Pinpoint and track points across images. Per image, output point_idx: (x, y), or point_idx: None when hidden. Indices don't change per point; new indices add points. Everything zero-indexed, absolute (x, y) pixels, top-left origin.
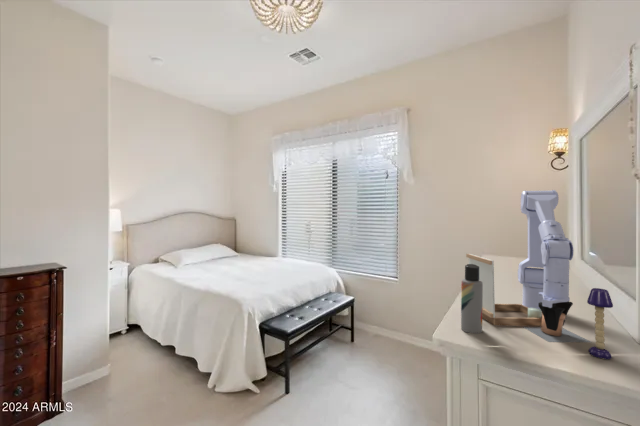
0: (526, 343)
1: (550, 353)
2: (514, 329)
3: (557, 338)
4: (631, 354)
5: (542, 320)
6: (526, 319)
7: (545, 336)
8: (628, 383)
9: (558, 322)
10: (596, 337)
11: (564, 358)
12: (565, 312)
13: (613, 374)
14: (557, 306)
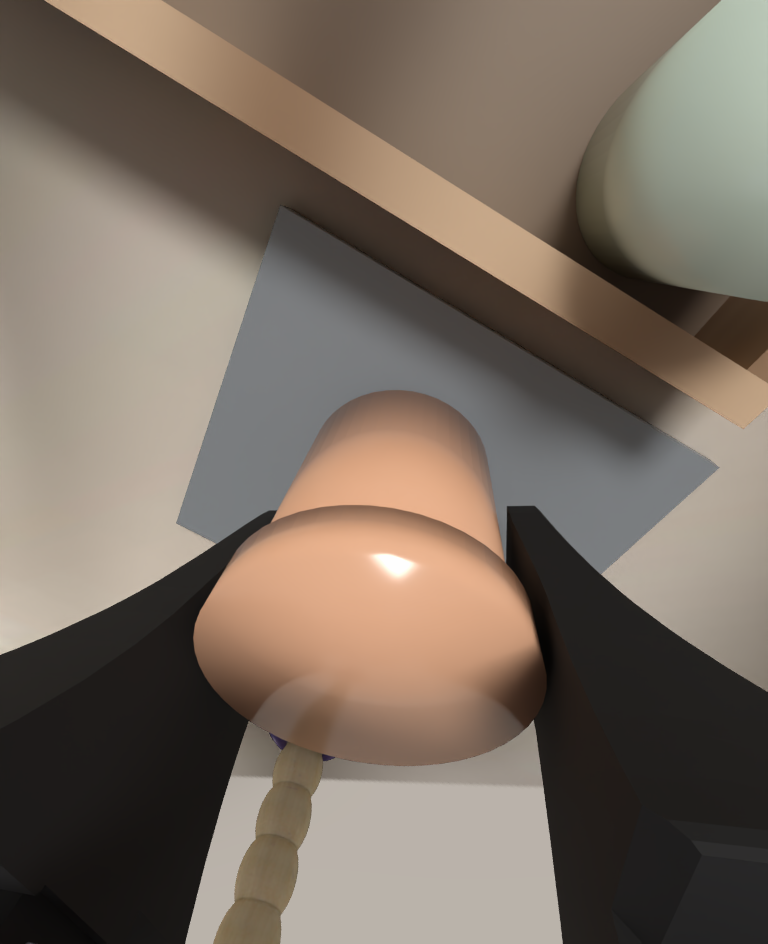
0: (7, 430)
1: (56, 566)
2: (148, 178)
3: None
4: (498, 779)
5: (300, 477)
6: (362, 195)
7: (255, 474)
8: None
9: None
10: (258, 819)
11: (84, 618)
12: (542, 778)
13: None
14: (576, 802)
